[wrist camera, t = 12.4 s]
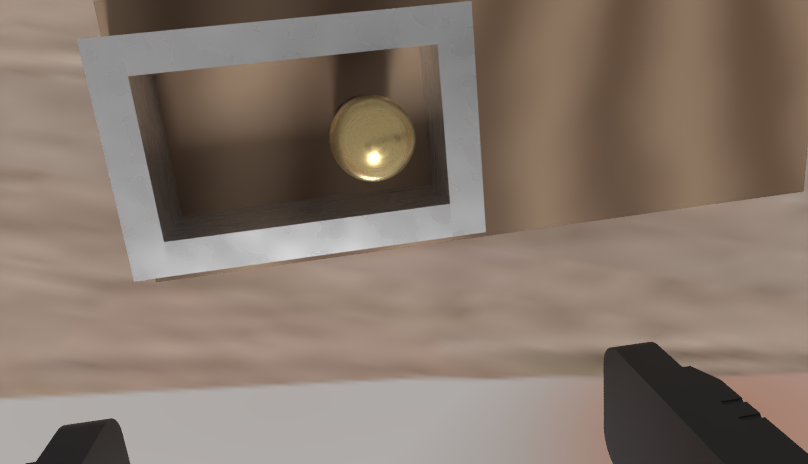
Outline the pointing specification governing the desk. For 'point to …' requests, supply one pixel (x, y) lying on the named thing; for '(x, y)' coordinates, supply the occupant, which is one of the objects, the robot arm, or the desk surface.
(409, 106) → the brown wooden board
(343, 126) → the post
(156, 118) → the grey rectangular frame
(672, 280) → the desk surface
